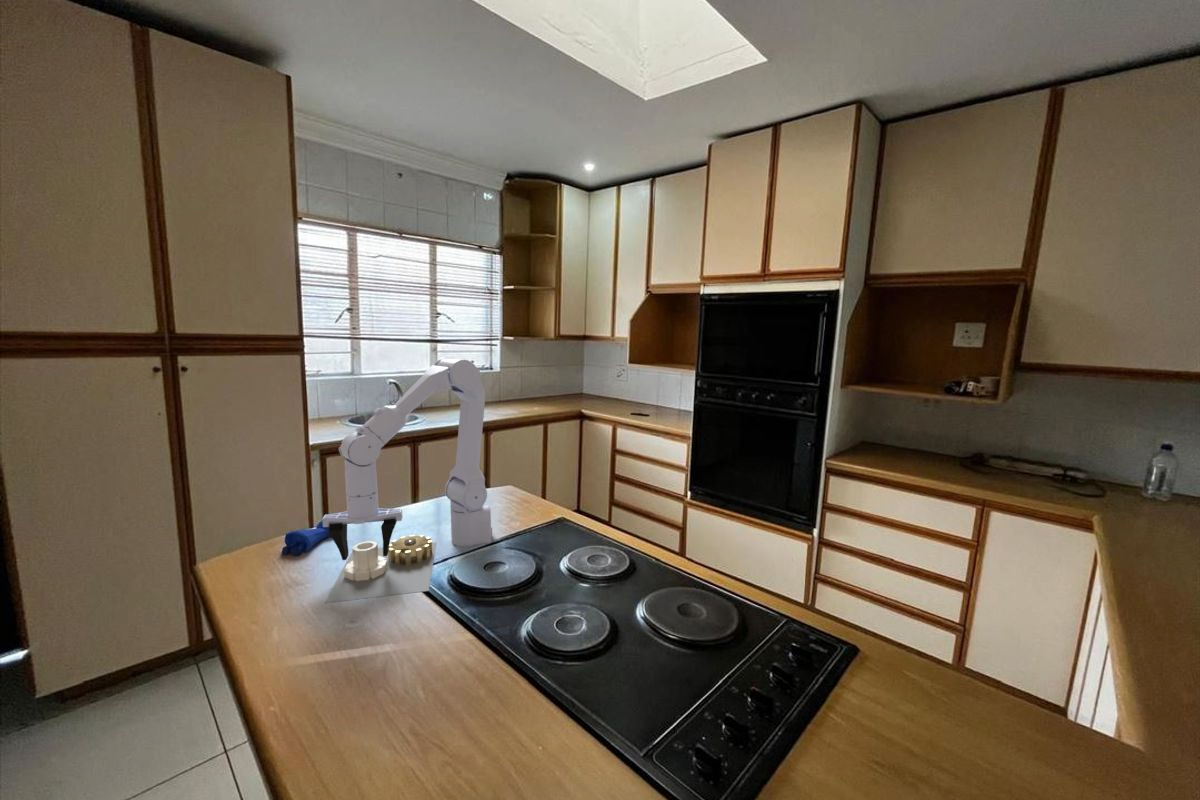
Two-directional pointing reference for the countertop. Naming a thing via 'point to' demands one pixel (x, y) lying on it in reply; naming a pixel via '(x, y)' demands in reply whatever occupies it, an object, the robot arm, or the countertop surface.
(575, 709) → the countertop surface
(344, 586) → the carrier plate
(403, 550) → the sun gear
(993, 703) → the countertop surface
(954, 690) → the countertop surface
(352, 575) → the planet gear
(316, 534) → the toy
